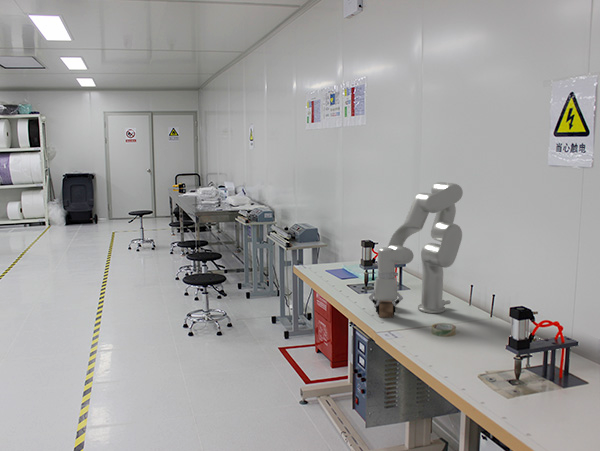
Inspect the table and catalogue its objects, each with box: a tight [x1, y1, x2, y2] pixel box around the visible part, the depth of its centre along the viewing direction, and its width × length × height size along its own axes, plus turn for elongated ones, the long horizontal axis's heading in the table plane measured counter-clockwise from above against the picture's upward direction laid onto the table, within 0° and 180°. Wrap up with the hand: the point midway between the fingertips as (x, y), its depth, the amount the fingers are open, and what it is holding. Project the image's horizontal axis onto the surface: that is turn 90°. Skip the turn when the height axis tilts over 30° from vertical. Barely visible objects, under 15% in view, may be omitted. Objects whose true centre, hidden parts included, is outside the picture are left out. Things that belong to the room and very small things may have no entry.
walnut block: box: [378, 301, 394, 318], centre depth 244 cm, size 6×6×6 cm
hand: (385, 313), depth 244 cm, fingers closed on walnut block, 6 cm apart
